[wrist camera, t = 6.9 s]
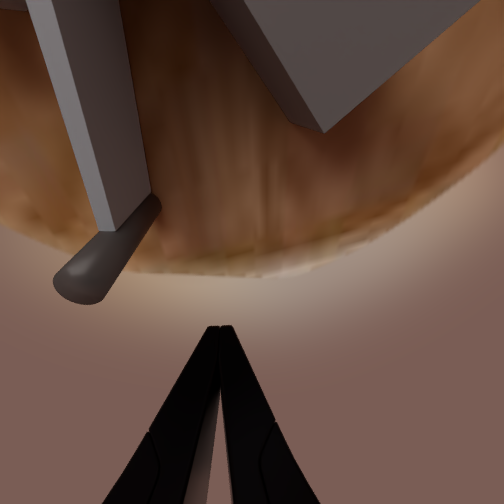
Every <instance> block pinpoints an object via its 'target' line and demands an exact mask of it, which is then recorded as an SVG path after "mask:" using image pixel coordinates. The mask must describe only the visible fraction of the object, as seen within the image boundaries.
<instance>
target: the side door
mask: <svg viewBox="0 0 504 504" xmlns="http://www.w3.org/2000/svg"><path fill="white" fill-rule="evenodd" d="M26 3H27V6H28V9H29V13H30V16H31V19H32V22H33V25H34V28H35V31H36V35H37V38H38V41H39V44H40V47H41V50H42V53H43V56H44V60H45V63H46V66H47V69H48V72H49V75H50V78H51V82H52V85H53V88H54V91H55V94H56V97H57V100H58V103H59V107H60V110H61V113H62V116H63V119H64V122H65V125H66V129H67V132H68V135H69V138H70V141H71V144H72V147H73V151H74V154H75V157H76V160H77V163H78V166H79V169H80V172H81V176H82V179H83V182H84V185H85V188H86V191H87V194H88V198H89V201H90V204H91V207H92V210H93V213H94V216H95V219H96V223H97V226H98V229H99V232H98V233H97V234H96V235H95V236H94V237H93V238H92V239H91V240H90V241H89V242H88V243H87V244H86V245H85V246H84V247H83V248H82V249H81V250H80V251H79V252H78V253H77V254H76V255H75V256H74V257H73V258H72V259H71V260H70V261H68V262H67V264H65V265H64V266H63V267H62V268H61V269H60V271H58V272H57V273H56V274H55V276H54V278H53V285H54V287H55V289H56V291H57V292H58V293H59V294H60V295H61V296H63V297H64V298H65V299H67V300H69V301H71V302H74V303H78V304H83V305H91V304H96V303H98V302H100V301H102V300H103V299H104V297H105V296H106V294H107V293H108V291H109V290H110V288H111V287H112V285H113V284H114V282H115V280H116V279H117V277H118V276H119V274H120V273H121V271H122V270H123V268H124V267H125V265H126V264H127V262H128V260H129V259H130V257H131V256H132V254H133V253H134V251H135V250H136V248H137V247H138V245H139V244H140V242H141V240H142V239H143V237H144V236H145V234H146V233H147V231H148V230H149V228H150V227H151V225H152V224H153V222H154V220H155V219H156V217H157V216H158V214H159V213H160V211H161V203H160V201H159V199H158V198H157V197H156V196H155V195H153V194H152V193H151V187H150V182H149V176H148V170H147V164H146V158H145V152H144V146H143V141H142V135H141V129H140V123H139V117H138V111H137V106H136V100H135V94H134V88H133V82H132V76H131V71H130V65H129V59H128V53H127V47H126V41H125V35H124V30H123V24H122V18H121V12H120V6H119V0H26Z"/></svg>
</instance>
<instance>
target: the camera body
mask: <svg viewBox="0 0 504 504" xmlns="http://www.w3.org/2000/svg"><path fill="white" fill-rule="evenodd" d="M209 1H210V2H211V4H212V5H213V7H214V8H215V10H216V11H217V13H218V14H219V16H220V17H221V19H222V20H223V22H224V23H225V25H226V26H227V28H228V29H229V31H230V32H231V34H232V35H233V37H234V38H235V40H236V41H237V43H238V44H239V46H240V47H241V49H242V50H243V52H244V53H245V55H246V56H247V58H248V59H249V61H250V62H251V64H252V66H253V67H254V69H255V70H256V72H257V73H258V75H259V76H260V78H261V79H262V81H263V82H264V84H265V85H266V87H267V88H268V90H269V91H270V93H271V94H272V96H273V97H274V99H275V100H276V102H277V103H278V105H279V106H280V108H281V109H282V111H283V112H284V114H285V115H286V117H287V118H288V120H289V121H290V122H291V123H294V124H297V125H300V126H303V127H306V128H309V129H312V130H315V131H318V132H321V133H326V132H327V131H328V130H329V129H330V128H331V127H333V126H334V125H335V124H336V123H337V122H338V121H340V120H341V119H342V118H343V117H344V116H345V115H347V114H348V113H349V112H350V111H351V110H353V109H354V108H355V107H356V106H357V105H358V104H360V103H361V102H362V101H363V100H364V99H365V98H367V97H368V96H369V95H370V94H371V93H372V92H374V91H375V90H376V89H377V88H378V87H379V86H381V85H382V84H383V83H384V82H385V81H386V80H388V79H389V78H390V77H391V76H392V75H393V74H395V73H396V72H397V71H398V70H399V69H400V68H402V67H403V66H404V65H405V64H406V63H407V62H409V61H410V60H411V59H412V58H413V57H415V56H416V55H417V54H418V53H419V52H420V51H422V50H423V49H424V48H425V47H426V46H427V45H429V44H430V43H431V42H432V41H433V40H434V39H436V38H437V37H438V36H439V35H440V34H441V33H443V32H444V31H445V30H446V29H447V28H448V27H450V26H451V25H452V24H453V23H454V22H455V21H457V20H458V19H459V18H460V17H461V16H462V15H464V14H465V13H466V12H467V11H468V10H469V9H471V8H472V7H473V6H474V5H475V4H477V3H478V2H479V1H480V0H209Z"/></svg>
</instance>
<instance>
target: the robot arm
mask: <svg viewBox="0 0 504 504" xmlns="http://www.w3.org/2000/svg"><path fill="white" fill-rule="evenodd" d="M220 389H221V400H222V411H223V422H224V432H225V442H226V452H227V461H228V462H227V463H228V472H229V483H230V493H231V504H320V502H319V500H318V499H317V497H316V495H315V494H314V492H313V490H312V489H311V487H310V485H309V484H308V482H307V480H306V478H305V477H304V475H303V473H302V471H301V469H300V468H299V466H298V464H297V462H296V460H295V459H294V457H293V455H292V453H291V451H290V449H289V447H288V445H287V442H286V441H285V438H284V436H283V434H282V432H281V430H280V428H279V426H278V424H277V422H275V417H274V415H273V413H272V411H271V409H270V407H269V404H268V402H267V400H266V398H265V396H264V393H263V391H262V389H261V387H260V385H259V382H258V380H257V378H256V376H255V374H254V372H253V369H252V367H251V365H250V363H249V361H248V359H247V357H246V354H245V352H244V350H243V348H242V346H241V344H240V341H239V339H238V337H237V335H236V333H235V330H234V328H233V327H232V325H224V326H221V327H220V326H209V327H207V329H206V331H205V332H204V334H203V336H202V338H201V340H200V341H199V343H198V345H197V346H196V348H195V350H194V352H193V353H192V355H191V357H190V358H189V360H188V362H187V364H186V365H185V367H184V369H183V370H182V372H181V374H180V376H179V377H178V379H177V381H176V383H175V384H174V386H173V388H172V390H171V391H170V393H169V395H168V397H167V398H166V400H165V402H164V403H163V405H162V407H161V408H160V410H159V412H158V414H157V415H156V417H155V419H154V421H153V422H152V424H151V426H150V428H149V432H150V433H149V432H147V433H146V434H145V436H144V438H143V440H142V441H141V443H140V445H139V446H138V448H137V450H136V451H135V453H134V455H133V456H132V458H131V459H130V461H129V463H128V464H127V466H126V468H125V469H124V471H123V473H122V474H121V476H120V477H119V479H118V480H117V482H116V483H115V485H114V486H113V488H112V489H111V491H110V492H109V494H108V495H107V497H106V498H105V500H104V502H103V503H102V504H206V500H207V493H208V486H209V478H210V470H211V461H212V454H213V446H214V439H215V431H216V423H217V415H218V408H219V407H218V406H219V400H220Z"/></svg>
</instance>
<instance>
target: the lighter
mask: <svg viewBox="0 0 504 504" xmlns="http://www.w3.org/2000/svg"><path fill="white" fill-rule="evenodd" d="M0 9H9V10H18V11H27V9H28V6H27V3H26V0H0Z"/></svg>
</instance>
